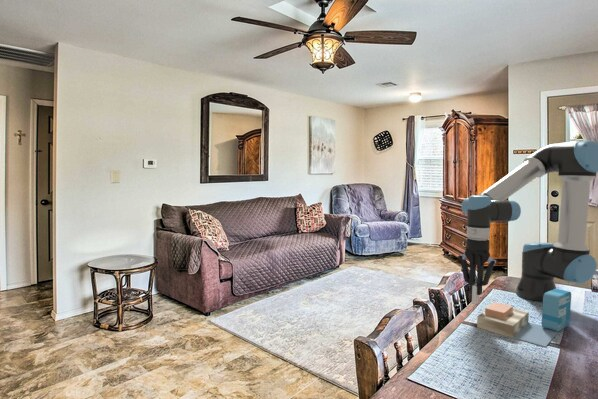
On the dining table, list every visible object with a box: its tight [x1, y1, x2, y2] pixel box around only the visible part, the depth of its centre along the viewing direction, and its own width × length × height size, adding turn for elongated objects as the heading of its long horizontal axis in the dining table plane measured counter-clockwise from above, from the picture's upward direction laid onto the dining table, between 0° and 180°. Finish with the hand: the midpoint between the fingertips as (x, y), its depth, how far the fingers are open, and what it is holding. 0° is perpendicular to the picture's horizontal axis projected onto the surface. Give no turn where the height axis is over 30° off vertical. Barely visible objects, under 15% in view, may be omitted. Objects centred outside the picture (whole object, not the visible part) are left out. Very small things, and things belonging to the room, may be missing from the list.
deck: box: [476, 307, 530, 339], centre depth 129 cm, size 17×11×4 cm, turn 134°
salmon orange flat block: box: [484, 301, 514, 319], centre depth 130 cm, size 9×6×2 cm, turn 134°
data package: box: [541, 288, 572, 333], centre depth 127 cm, size 12×4×12 cm, turn 127°
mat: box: [512, 321, 560, 348], centre depth 122 cm, size 17×9×1 cm, turn 134°
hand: (475, 302), depth 135 cm, fingers closed
